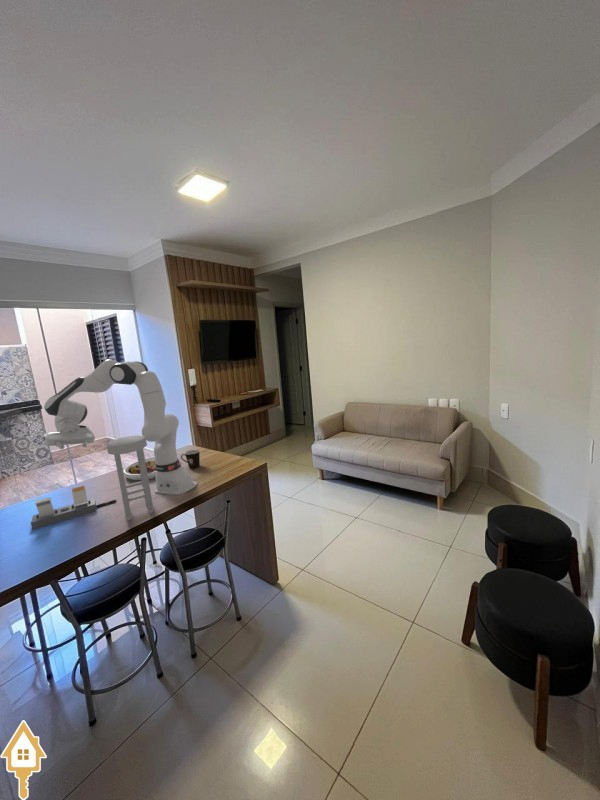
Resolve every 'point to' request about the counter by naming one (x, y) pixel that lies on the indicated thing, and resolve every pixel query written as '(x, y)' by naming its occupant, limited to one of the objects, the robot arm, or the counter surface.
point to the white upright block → (79, 495)
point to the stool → (137, 445)
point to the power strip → (66, 513)
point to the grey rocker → (44, 506)
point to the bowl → (134, 471)
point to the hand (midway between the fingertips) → (73, 446)
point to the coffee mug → (192, 459)
